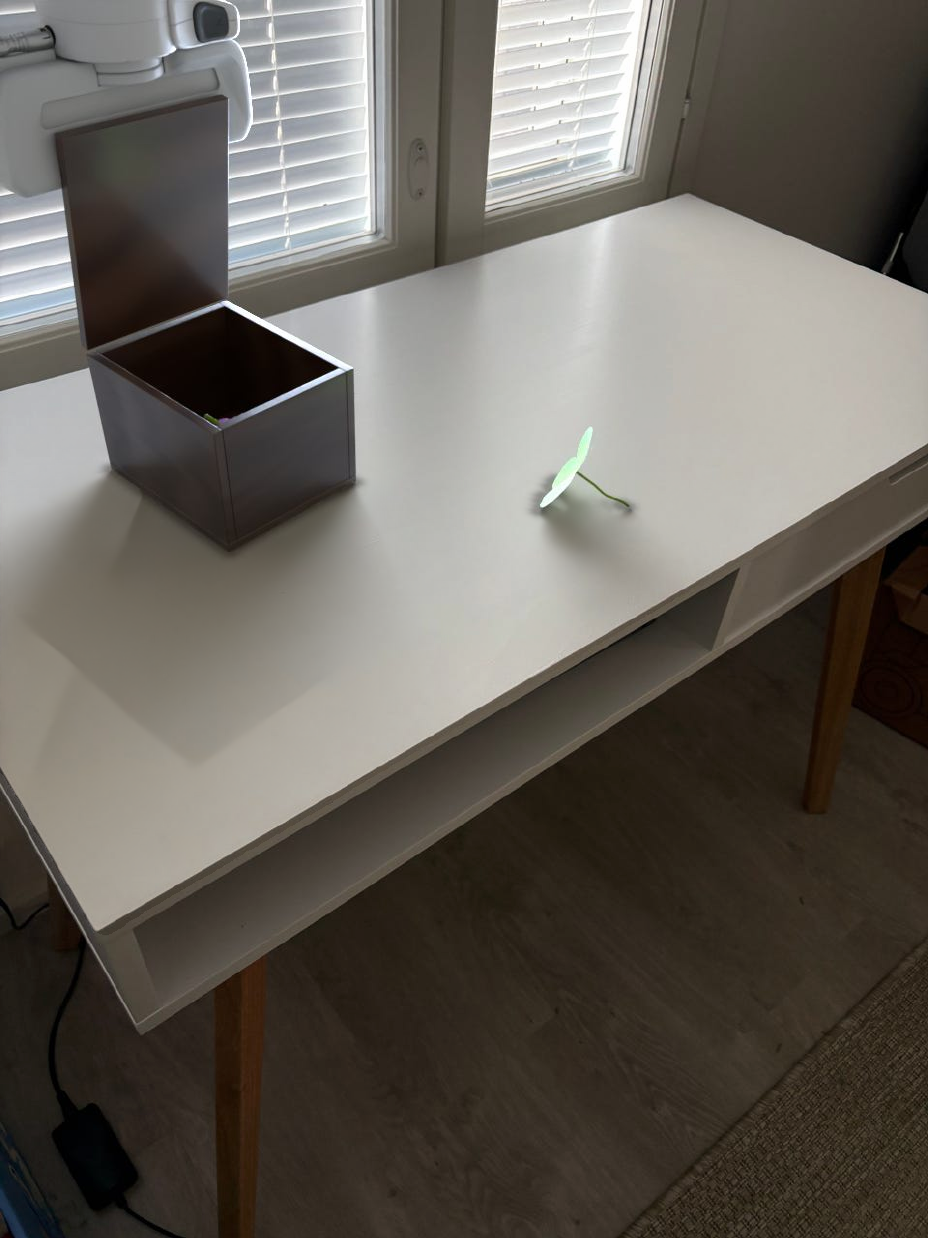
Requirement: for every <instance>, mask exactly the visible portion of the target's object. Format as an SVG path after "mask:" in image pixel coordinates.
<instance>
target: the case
mask: <svg viewBox="0 0 928 1238" xmlns="http://www.w3.org/2000/svg"><path fill="white" fill-rule="evenodd" d="M85 356H86V360H87V365H88V369H89V375H90V378H91V383H92V386H93V392H94V396H95V399H96V400H95V401H96V405H97V409H98V414H99V415H98V416H99V419H100V423H101V427H102V433H103V437H104V441H105V445H106V451H107V455H108V460H109V463H110V468H111V470H112V471H113V472H114V473H116V474H117V475H119V476H121V477H122V478H123V479H124V480H126V481H127V482H129V483H130V484H132V485H133V486H134V487H136V488H137V489H139V490H140V492H143V493H144V494H146V495H147V496H148V497H150V498H151V499H152V500H154V501H156V502H157V503H158V504H160V505H161V506H162V507H164V508H165V509H166V510H168V511H170V512H171V513H172V514H174V515H175V516H177V517H178V518H179V519H181V520H182V521H183V522H185V523H187V524H188V525H189V526H191V528H193V529H195V530H196V531H198V532H199V533H201V534H202V535H203V536H205V537H206V538H208V539H209V540H211V541H212V542H213V543H215V544H216V545H217V546H219V547H220V548H222V549H223V550H224V551H226V552H227V553H230V554H231V553H232V552H235V550H237V549H239V548H241V547H242V546H244V545H247V544H248V543H250V542H252V541H254V540H255V539H257V538H259V537H260V536H262V535H264V534H266V533H267V532H269V531H271V530H273V529H275V528H276V527H278V526H280V525H283V524H284V523H285V522H287V521H289V520H291V519H292V518H294V517H296V516H297V515H299V514H301V513H303V512H305V511H307V510H309V509H310V508H312V507H314V506H316V505H318V504H319V503H321V502H323V501H325V500H327V499H328V498H330V497H332V496H333V495H335V494H337V493H339V492H341V491H343V490H344V489H346V488H347V487H350V486H351V485H353V484H355V483H356V482H357V475H356V474H357V465H356V463H357V459H356V457H357V456H356V415H355V413H356V412H355V373H354V371H355V370H354V369H355V368H354V367H353V366H350V365H348V364H346V363H344V362H342V361H340V360H339V359H337V358H335V357H333V356H331V355H330V354H327V353H325V352H324V351H322V350H320V349H318V348H316V347H315V346H312V345H311V344H309V343H307V342H305V341H303V340H301V339H300V338H297V337H295V336H293V335H292V334H291V333H288V332H287V331H284V330H282V329H280V328H279V327H276V326H275V325H273V324H271V323H269V322H268V321H265V320H263V318H260V317H258V316H257V315H254V314H252V313H250V312H249V311H247V310H245V309H243V308H242V307H239V306H237V305H235V304H233V303H232V302H230V301H228V300H224V301H220V302H219V303H216V304H215V303H214V305H213V304H212V305H210V306H208V307H205V308H201V309H200V310H197V311H195V312H192V313H189V314H187V315H184V316H182V317H179V318H177V319H176V318H175V319H174V320H171V321H169V322H166V323H163V324H161V325H159V326H158V325H157V326H155V327H153V328H150V329H147V330H145V331H142V332H139V333H137V334H134V335H131V336H128V337H126V338H124V339H121V340H119V341H116V342H113V343H111V344H108V345H106V346H103V347H101V348H98V349H95V350H93V351H90V352H88V353H85ZM205 414H208V415H209V416H212V417H213V418H214V419H216V420H217V421H218V420H220V419H223V418H228V419H230V420H228V421H225V422H223V423H221V424H219V425H217V426H214V425H213V424H211V423H210V422H208V420H206V419H203V418H204V416H205ZM234 416H235V417H234ZM233 417H234V418H233Z"/></svg>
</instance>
